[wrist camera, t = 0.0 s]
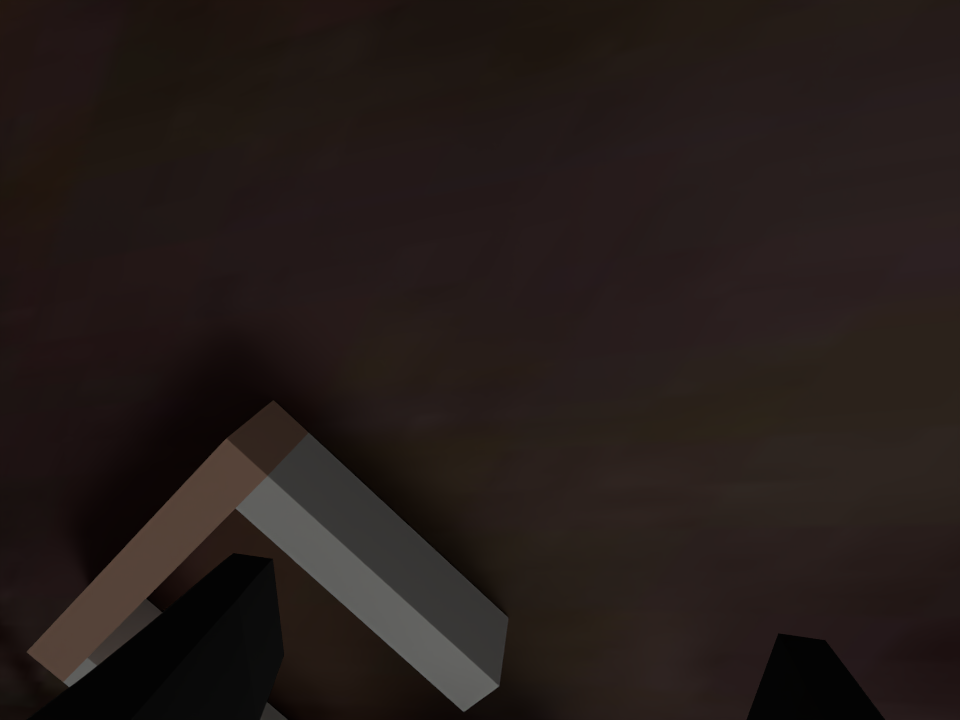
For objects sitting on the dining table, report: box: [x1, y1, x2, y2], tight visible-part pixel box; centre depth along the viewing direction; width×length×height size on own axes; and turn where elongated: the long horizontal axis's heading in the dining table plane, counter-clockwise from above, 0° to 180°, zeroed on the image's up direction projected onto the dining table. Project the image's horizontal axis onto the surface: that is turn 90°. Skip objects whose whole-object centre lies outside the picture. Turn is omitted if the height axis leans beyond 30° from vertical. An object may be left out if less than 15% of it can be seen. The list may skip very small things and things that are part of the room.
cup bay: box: [27, 400, 508, 720], centre depth 22 cm, size 11×10×3 cm
